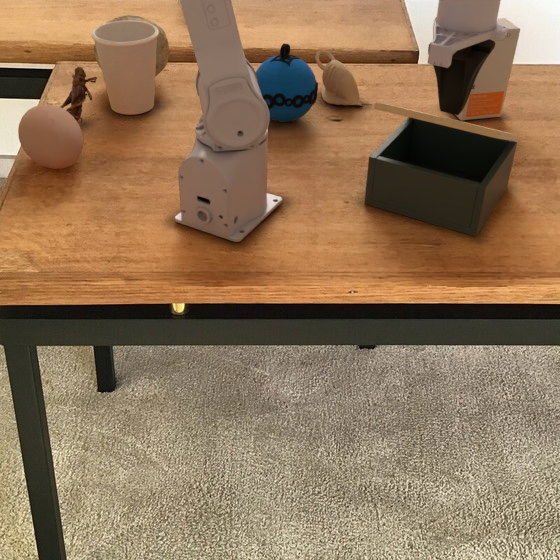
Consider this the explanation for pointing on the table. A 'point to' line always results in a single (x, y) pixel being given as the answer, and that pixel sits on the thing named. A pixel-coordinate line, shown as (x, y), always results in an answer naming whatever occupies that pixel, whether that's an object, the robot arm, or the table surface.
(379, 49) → the table surface
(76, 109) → the insect
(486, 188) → the chest
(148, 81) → the dixie cup
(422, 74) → the table surface
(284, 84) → the ornament
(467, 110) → the cosmetic box
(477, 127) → the lid
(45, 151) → the egg
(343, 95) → the decorative ornament
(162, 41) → the sculpture
